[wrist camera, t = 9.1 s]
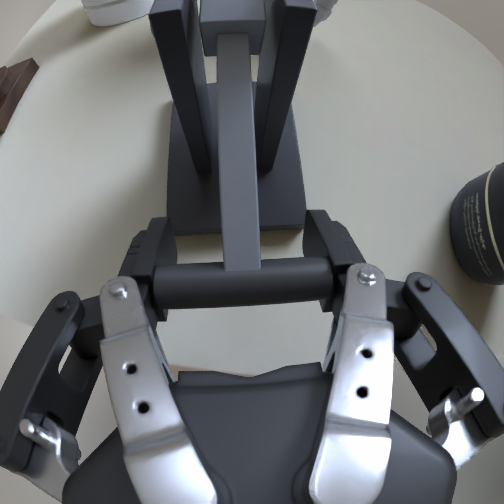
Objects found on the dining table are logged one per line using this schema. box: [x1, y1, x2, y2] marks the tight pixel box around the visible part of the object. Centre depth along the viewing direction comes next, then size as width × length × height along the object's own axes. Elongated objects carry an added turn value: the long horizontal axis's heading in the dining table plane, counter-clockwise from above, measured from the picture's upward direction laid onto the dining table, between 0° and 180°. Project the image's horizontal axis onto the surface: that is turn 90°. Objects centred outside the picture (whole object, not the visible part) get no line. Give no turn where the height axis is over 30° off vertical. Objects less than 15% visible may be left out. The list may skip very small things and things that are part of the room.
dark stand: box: [148, 0, 318, 236], centre depth 13 cm, size 12×9×14 cm
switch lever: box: [153, 0, 333, 309], centre depth 8 cm, size 12×6×2 cm, turn 3°
